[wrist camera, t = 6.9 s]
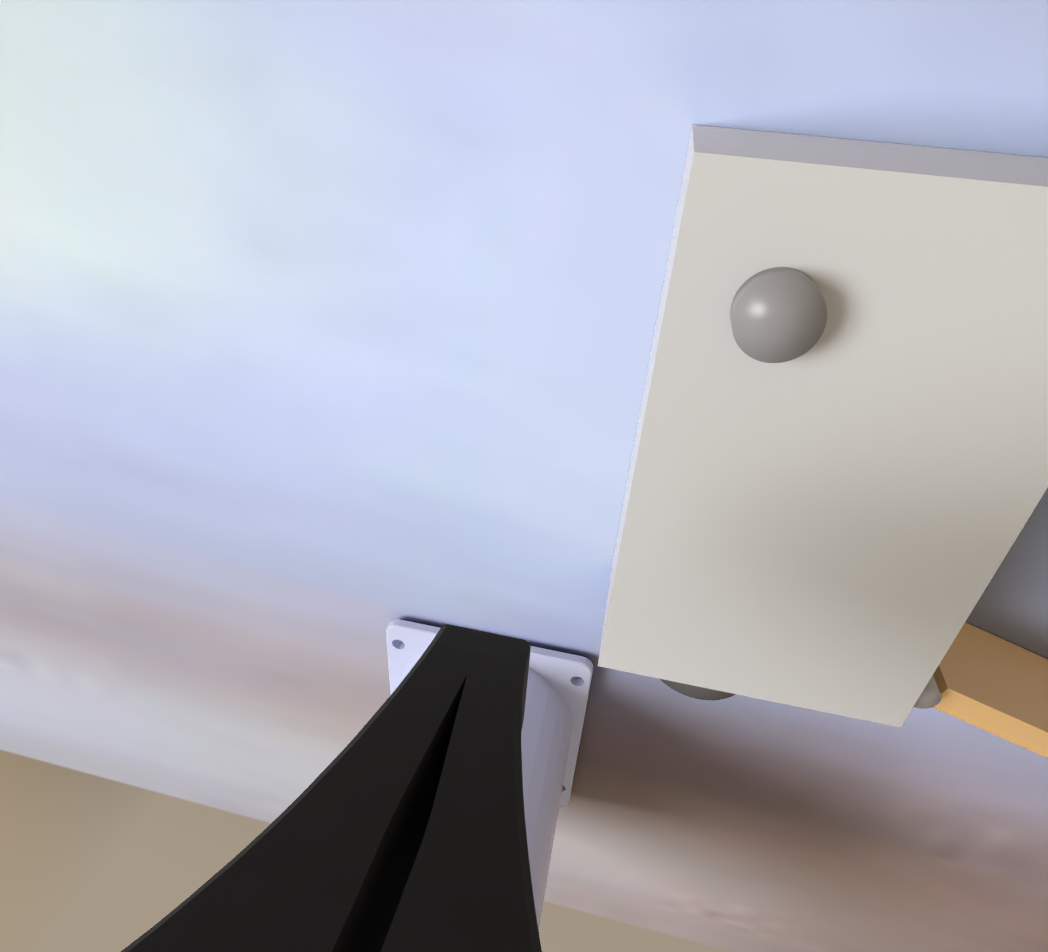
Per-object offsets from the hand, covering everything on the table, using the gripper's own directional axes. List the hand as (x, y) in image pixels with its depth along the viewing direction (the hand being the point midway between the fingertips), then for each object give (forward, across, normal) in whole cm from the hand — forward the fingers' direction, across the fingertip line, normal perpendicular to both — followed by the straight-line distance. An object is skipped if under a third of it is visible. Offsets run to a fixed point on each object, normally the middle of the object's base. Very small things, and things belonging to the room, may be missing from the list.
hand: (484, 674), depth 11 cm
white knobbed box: (+10, -6, 0) cm, 12 cm away
